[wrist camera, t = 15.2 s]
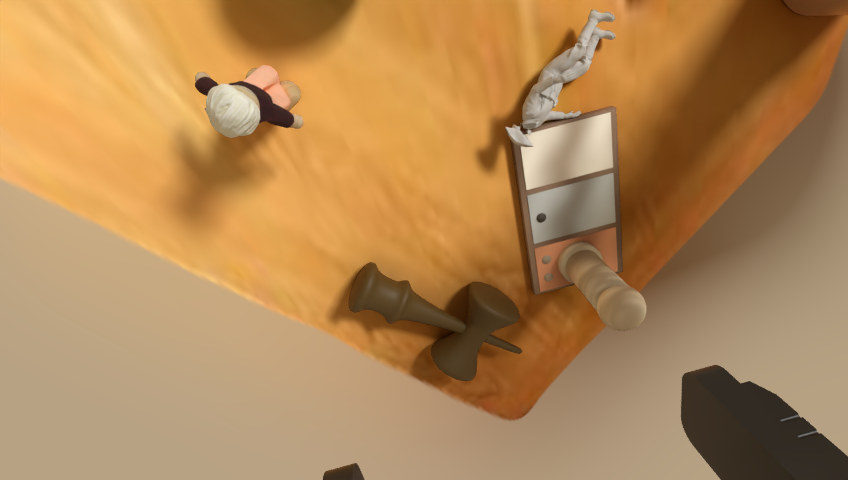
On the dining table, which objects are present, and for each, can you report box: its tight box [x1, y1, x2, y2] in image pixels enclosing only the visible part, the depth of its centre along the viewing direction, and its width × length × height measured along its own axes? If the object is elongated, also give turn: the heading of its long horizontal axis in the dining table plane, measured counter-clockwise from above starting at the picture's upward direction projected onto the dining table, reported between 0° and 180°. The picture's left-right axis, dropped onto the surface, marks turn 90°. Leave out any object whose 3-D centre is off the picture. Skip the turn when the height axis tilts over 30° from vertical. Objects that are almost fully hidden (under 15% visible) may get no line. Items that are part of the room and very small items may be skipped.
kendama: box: [349, 262, 522, 381], centre depth 48 cm, size 6×10×20 cm
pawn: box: [557, 241, 646, 331], centre depth 43 cm, size 4×4×11 cm
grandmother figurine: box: [195, 65, 303, 138], centre depth 33 cm, size 8×4×13 cm, turn 75°
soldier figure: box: [505, 10, 615, 147], centre depth 40 cm, size 8×5×12 cm
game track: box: [511, 106, 623, 295], centre depth 46 cm, size 10×18×1 cm, turn 13°
